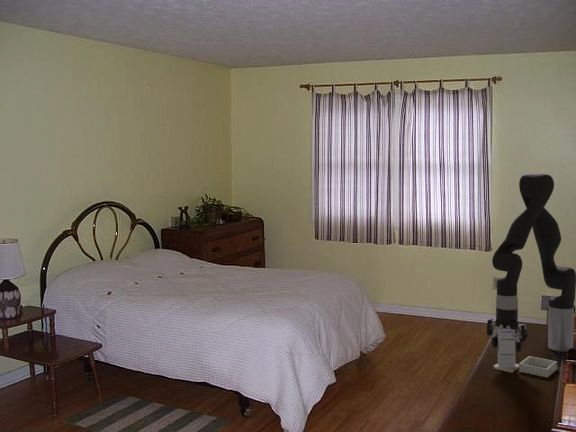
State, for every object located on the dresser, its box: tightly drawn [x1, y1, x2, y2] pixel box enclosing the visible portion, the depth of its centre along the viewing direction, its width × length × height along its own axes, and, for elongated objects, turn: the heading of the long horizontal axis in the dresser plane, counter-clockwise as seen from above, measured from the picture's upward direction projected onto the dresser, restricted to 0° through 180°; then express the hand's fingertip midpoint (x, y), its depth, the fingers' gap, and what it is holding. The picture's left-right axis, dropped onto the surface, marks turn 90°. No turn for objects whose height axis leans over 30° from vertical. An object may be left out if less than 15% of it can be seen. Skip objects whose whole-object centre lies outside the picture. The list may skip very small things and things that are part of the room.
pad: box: [493, 362, 519, 373], centre depth 226 cm, size 7×7×1 cm
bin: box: [518, 355, 558, 378], centre depth 222 cm, size 10×10×3 cm
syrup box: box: [497, 328, 516, 368], centre depth 225 cm, size 6×6×14 cm
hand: (506, 349), depth 225 cm, fingers open, 8 cm apart
